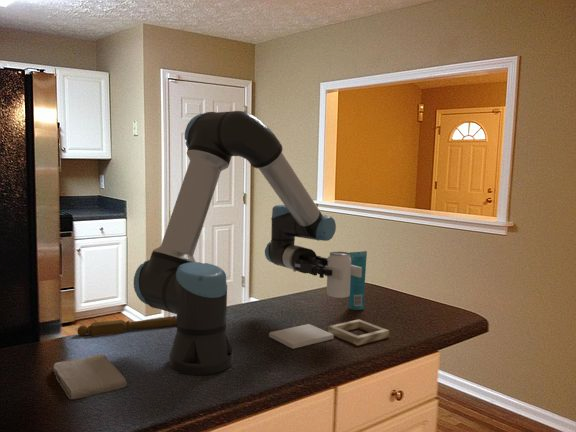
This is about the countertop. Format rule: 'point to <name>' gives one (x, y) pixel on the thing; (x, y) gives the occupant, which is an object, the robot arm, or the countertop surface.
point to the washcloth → (88, 376)
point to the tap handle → (124, 326)
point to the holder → (374, 335)
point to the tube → (357, 281)
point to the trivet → (301, 336)
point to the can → (342, 286)
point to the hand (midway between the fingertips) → (351, 273)
